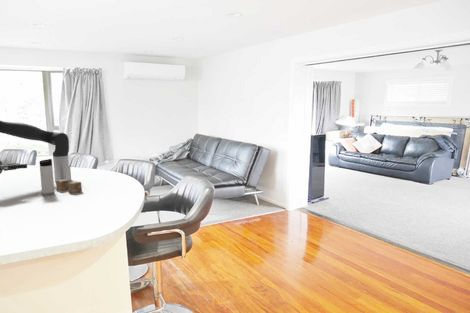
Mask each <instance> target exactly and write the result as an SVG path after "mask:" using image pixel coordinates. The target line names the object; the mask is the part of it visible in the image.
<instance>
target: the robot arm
mask: <svg viewBox="0 0 470 313" xmlns="http://www.w3.org/2000/svg"><path fill="white" fill-rule="evenodd" d="M0 133H1V134H3V135H4V134H5V135H9V136H12V137H15V138H20V139H25V140H29V141H40V142H43V143H47V144H50V145H53V146H54V151H53V152H52V163H53V176H54V182H56V181H58V180H63V179H65V180H69V181H70V180H72V172H71V166H70V164H69V163H70V162H69V152H70V141H69V136H68V134H66V133H64V132H54V131H49V130H44V129H42V128H39V127H38V126H35V125H33V124H32V125H31V124H28V123H24V122H17V121H16V122H15V121H14V122H13V121H4V120H0ZM27 168H28V164H27V163H19V162H18V163H16V162H5V163H3V162H2V161H1V160H0V174H2V173H3V171H4V172H7V171H13V170H15V171H16V170H19V169H27Z"/></svg>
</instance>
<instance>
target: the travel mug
mask: <svg viewBox="0 0 470 313" xmlns="http://www.w3.org/2000/svg"><path fill="white" fill-rule="evenodd" d="M39 174H40V186H41V195H42V196H51V195H54V194H55V179H54V166H53V158H48V159H41V160H40V161H39Z"/></svg>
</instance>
